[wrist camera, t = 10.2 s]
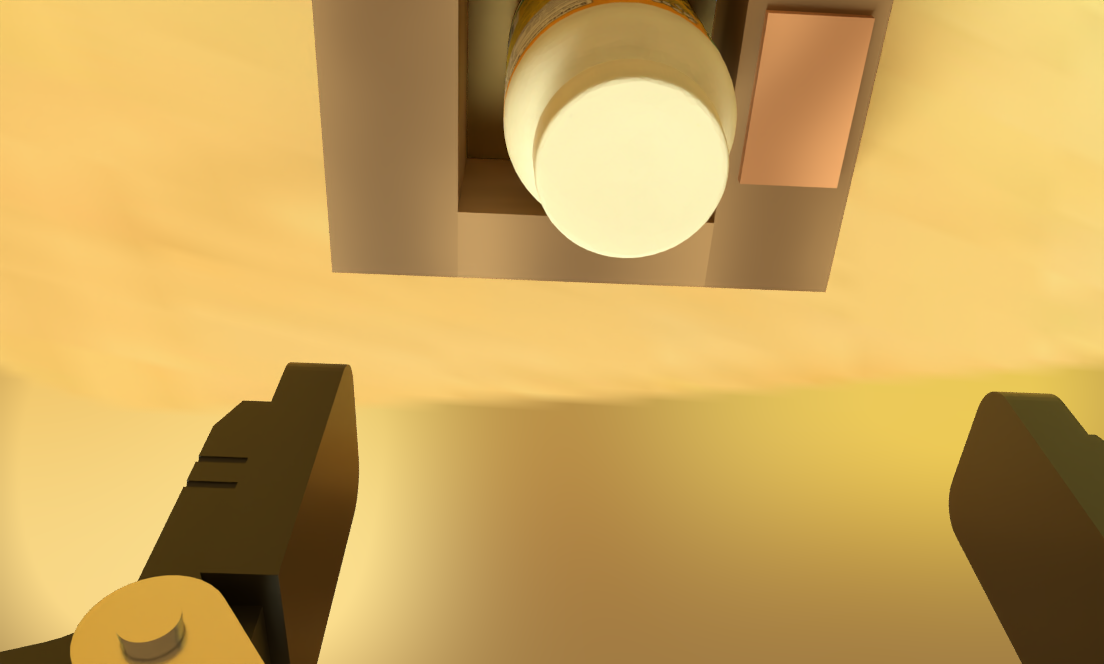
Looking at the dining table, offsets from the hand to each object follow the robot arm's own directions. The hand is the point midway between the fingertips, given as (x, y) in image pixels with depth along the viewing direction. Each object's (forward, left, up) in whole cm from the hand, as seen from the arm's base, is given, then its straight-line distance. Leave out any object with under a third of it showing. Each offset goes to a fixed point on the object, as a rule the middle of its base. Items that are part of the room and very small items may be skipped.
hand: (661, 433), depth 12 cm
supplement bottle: (0, 0, -18) cm, 18 cm away
